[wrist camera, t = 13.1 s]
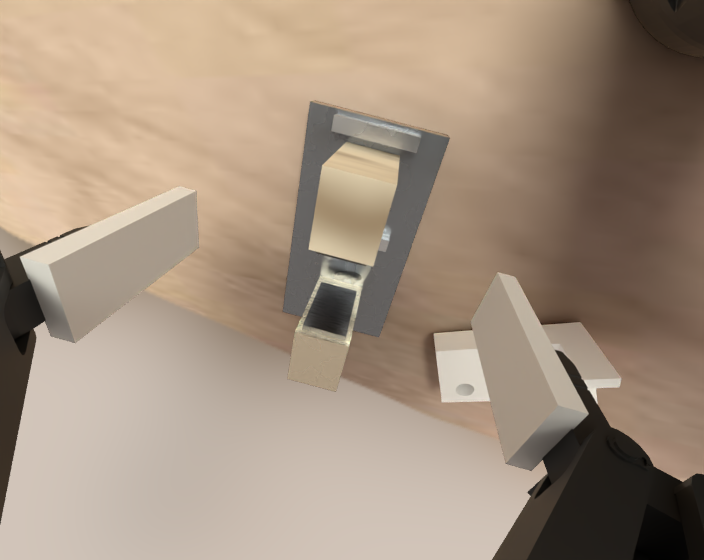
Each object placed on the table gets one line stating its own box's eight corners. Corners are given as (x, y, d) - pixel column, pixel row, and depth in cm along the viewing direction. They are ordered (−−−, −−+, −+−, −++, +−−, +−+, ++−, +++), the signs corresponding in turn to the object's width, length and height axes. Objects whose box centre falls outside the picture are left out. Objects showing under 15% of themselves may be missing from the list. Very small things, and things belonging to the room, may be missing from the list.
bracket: (576, 315, 30) (621, 378, 24) (568, 370, 34) (606, 438, 27) (432, 327, 33) (439, 385, 27) (438, 376, 37) (445, 438, 30)
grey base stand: (315, 100, 24) (268, 109, 16) (447, 135, 24) (468, 161, 16) (287, 303, 34) (250, 371, 26) (380, 327, 34) (371, 404, 26)
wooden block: (380, 223, 26) (371, 272, 20) (332, 211, 26) (307, 255, 20) (399, 155, 24) (397, 184, 17) (346, 141, 24) (322, 165, 17)
